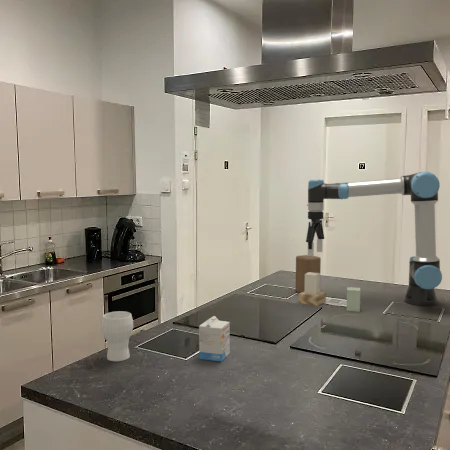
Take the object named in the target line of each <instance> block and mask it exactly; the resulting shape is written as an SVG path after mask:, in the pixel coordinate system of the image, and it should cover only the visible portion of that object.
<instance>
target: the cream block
mask: <svg viewBox="0 0 450 450" xmlns="http://www.w3.org/2000/svg"><path fill="white" fill-rule="evenodd" d="M320 292H321V272H320V273H313V272H308V273H306V274H305V293H304V294H308V295H318V294H319V293H320Z"/></svg>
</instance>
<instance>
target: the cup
mask: <svg viewBox="0 0 450 450" xmlns="http://www.w3.org/2000/svg"><path fill="white" fill-rule="evenodd" d="M133 329H134V320H133V316H132V313H131V312H129V311H122V310H121V311H120V310H119V311H111V312H106V313H105V314H103V315H102V320H101V330H102V331H101V332H102V335H103V337H104V338H105V340H106V342H107V353H106V360H108V361H110V362H123V361H125V360H129V358H130V357H131V355H130V350H129V349H130V348H129V340H130V338H131V335H132V333H133Z"/></svg>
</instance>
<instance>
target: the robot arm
mask: <svg viewBox="0 0 450 450" xmlns="http://www.w3.org/2000/svg"><path fill="white" fill-rule="evenodd" d="M307 186H308V187H307V204H306V205H307V210H308V212H307V219H308V220H310V221H308V225H307V227H308V228H307V231H306V232H307V233H306V238H305V242H306V243H307V255H308V256H315V255H314V252H315V251H314V250H315V249H314V248H315V246H314V245H315V242H314V239H315V236H316V238H317V239H316V252H317V253H323V240H325V233H324V228H323V219H324V209H325V208H324V207H325V206H324V205H325V204H324V203H325V202H324V200H347V199H349V198H357V197H369V196H371V197H372V196H382V195H383V196H385V195H396V194H400V195H402V196H410V202H411V204H413V205H414V226H415V227H414V228H415V230H414V231H415V237H414V238H415V256H410V257H409V261H408V262H409V264H408V265H409V266H408V267H409V270H408V286H407V288H406V292H405V294H404V302H405V303H408V304H409V305H415V306H424V307H426V306H427V307H428V306H429V307H430V306H436V305H437V304H438V297H437V293H436V291H435V288H437V287H438V286H439V285H440V284H441V282H442V280H443V274H442V271H441V261H440V260H441V259H440V258H439V257H438V256H437V250H436V249H437V248H436V247H437V244H436V240H437V239H436V212H435V211H436V209H435V208H436V206H435V205H436V203H437V202H438V201H439V189H440V187H441V186H440V180H439V178H438V177H437V176H436V174H434V173H432V172H430V171H421V172H416V173H413V174H408V175H406V174H405V175H401V176H400V177H397V178H386V179H373V180H361V181H350V182H340V183H339V182H335V183H325V182H324V179H310V180H309V181H308V185H307ZM315 234H316V235H315Z"/></svg>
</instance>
